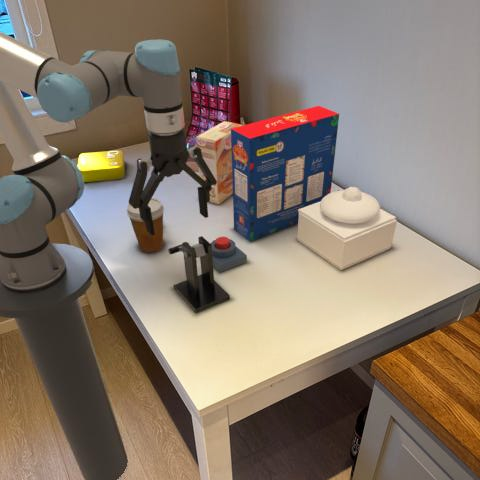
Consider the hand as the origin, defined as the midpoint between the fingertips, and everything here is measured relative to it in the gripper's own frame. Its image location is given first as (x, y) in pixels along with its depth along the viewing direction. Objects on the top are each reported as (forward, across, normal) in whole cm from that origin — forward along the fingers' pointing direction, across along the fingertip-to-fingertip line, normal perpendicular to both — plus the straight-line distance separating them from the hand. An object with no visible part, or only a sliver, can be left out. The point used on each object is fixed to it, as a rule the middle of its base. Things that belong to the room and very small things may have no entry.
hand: (178, 223), depth 111 cm
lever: (+6, 0, -5) cm, 8 cm away
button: (+11, +12, +1) cm, 16 cm away
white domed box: (+15, +42, -11) cm, 46 cm away
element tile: (+14, +5, +70) cm, 71 cm away
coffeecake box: (+14, +31, +33) cm, 47 cm away
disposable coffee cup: (+14, -1, +17) cm, 22 cm away
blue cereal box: (+14, +36, +8) cm, 39 cm away
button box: (+14, +12, +1) cm, 18 cm away
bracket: (+14, 0, -9) cm, 17 cm away
